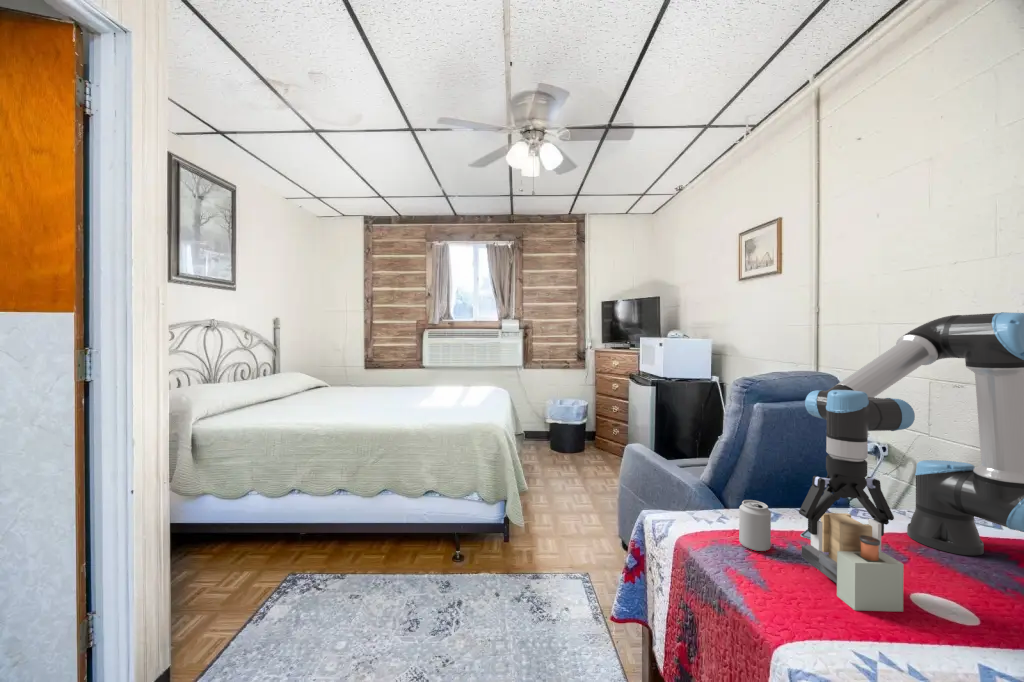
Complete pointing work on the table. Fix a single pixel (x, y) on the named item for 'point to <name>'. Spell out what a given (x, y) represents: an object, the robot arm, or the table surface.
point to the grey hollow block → (870, 582)
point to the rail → (812, 556)
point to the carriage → (839, 539)
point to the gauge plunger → (869, 548)
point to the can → (755, 525)
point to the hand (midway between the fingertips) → (845, 548)
